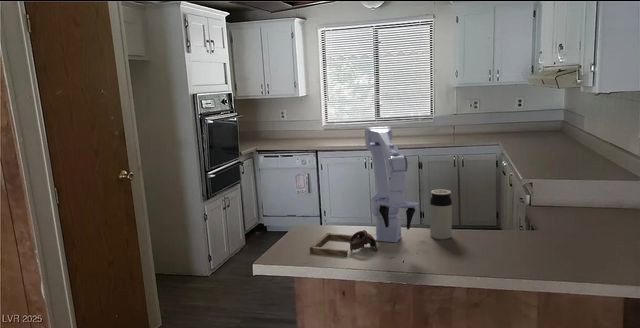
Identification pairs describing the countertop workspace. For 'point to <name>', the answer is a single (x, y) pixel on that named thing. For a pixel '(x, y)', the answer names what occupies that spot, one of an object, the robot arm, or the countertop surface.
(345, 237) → the bar
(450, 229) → the travel mug
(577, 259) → the countertop surface
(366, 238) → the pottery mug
